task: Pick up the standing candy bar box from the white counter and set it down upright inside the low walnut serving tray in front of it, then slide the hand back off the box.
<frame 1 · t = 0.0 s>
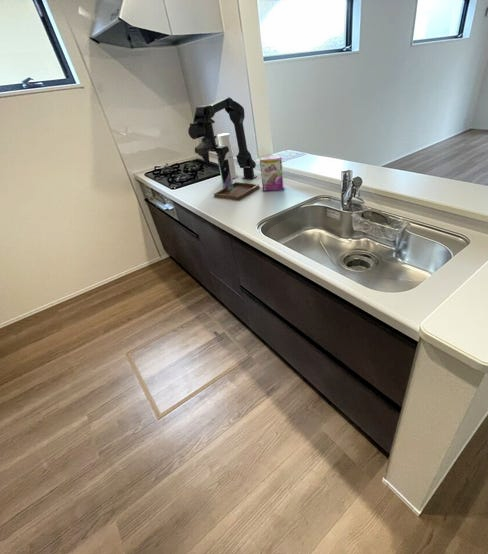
hand: (215, 166, 157), 15 cm above the countertop, tool pointing down, fingers open, 9 cm apart
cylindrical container: (231, 177, 189), on the countertop
tray: (237, 192, 164), on the countertop
candy bar box: (273, 189, 163), on the countertop
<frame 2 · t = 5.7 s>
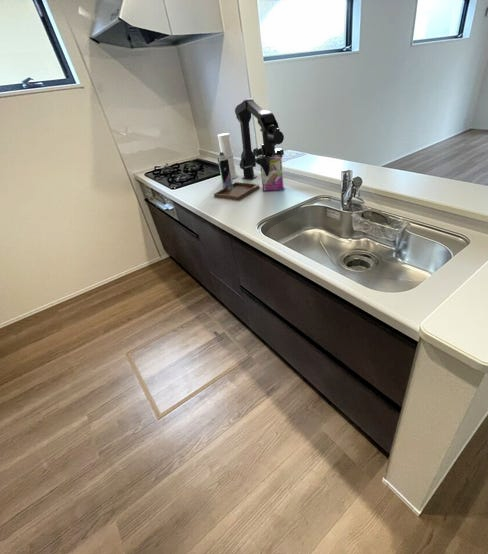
hand: (271, 173, 158), 9 cm above the countertop, tool pointing down
candy bar box: (273, 189, 163), on the countertop, touching gripper
everything else where it was.
when the fingers open (10 cm above the countertop, at t = 10.5 s): candy bar box stays where it is, resting on tray.
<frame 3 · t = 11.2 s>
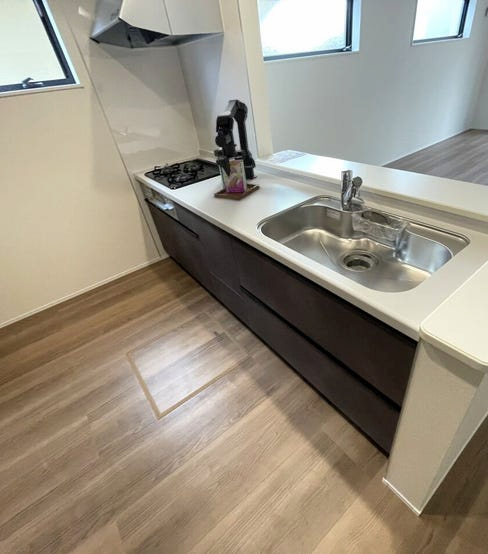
hand: (234, 174, 158), 10 cm above the countertop, tool pointing down, fingers open, 9 cm apart
candy bar box: (236, 192, 164), resting on tray
everything else where it was.
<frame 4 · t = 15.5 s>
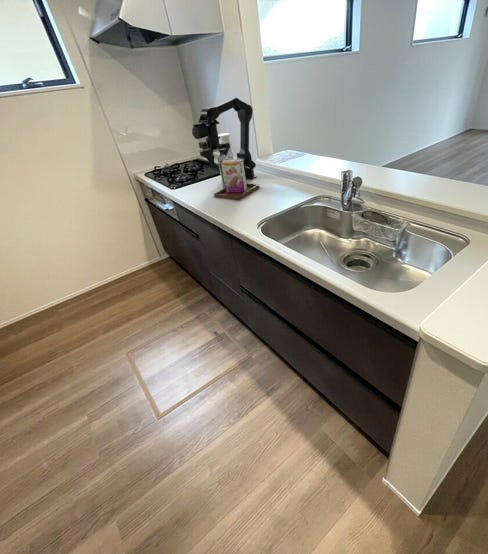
hand: (218, 165, 165), 13 cm above the countertop, tool pointing down, fingers open, 9 cm apart
nothing on the countertop moved.
at the end: candy bar box inside the target area in the tray (0.2 cm from its centre), point 0.3 cm above the tray's base; candy bar box tilted 0°; the gripper is holding nothing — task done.
